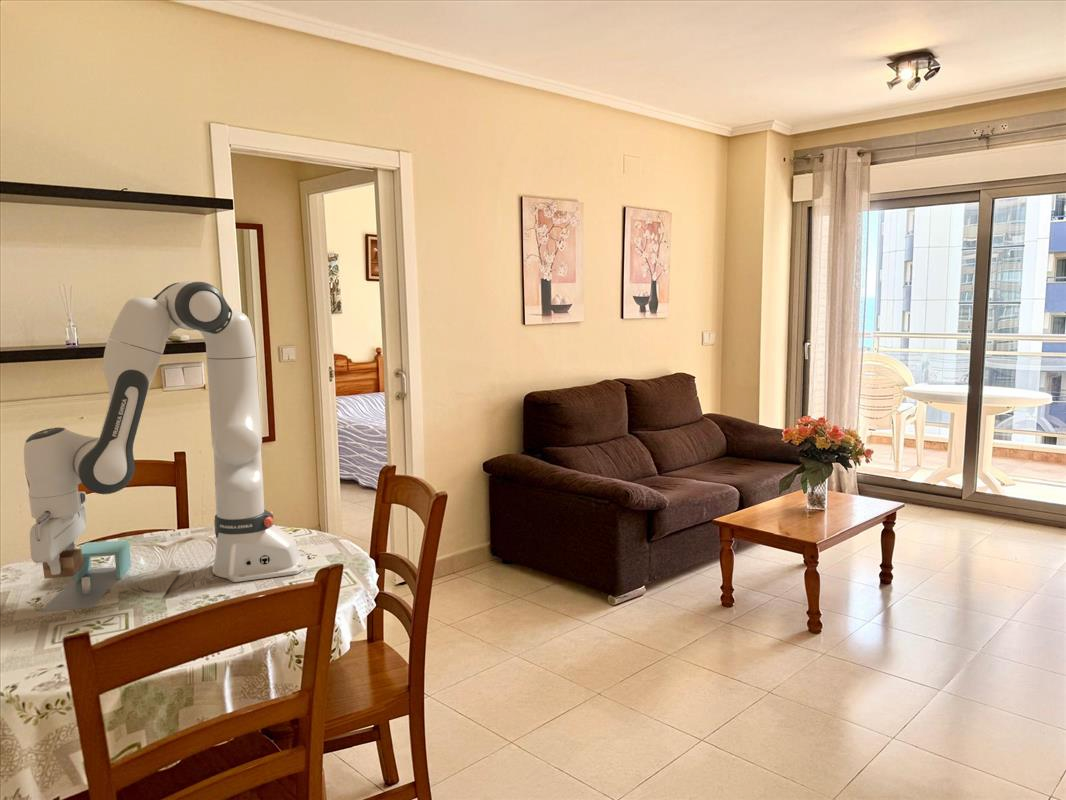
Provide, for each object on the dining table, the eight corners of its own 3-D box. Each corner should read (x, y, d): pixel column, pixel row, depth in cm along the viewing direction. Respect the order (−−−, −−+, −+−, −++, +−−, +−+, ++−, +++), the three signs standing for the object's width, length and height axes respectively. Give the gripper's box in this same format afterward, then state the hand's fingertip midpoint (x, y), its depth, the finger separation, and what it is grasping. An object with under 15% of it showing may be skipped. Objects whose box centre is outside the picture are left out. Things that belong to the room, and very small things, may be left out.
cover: (131, 565, 183) (129, 540, 182) (120, 578, 175) (118, 551, 174) (87, 568, 181) (85, 542, 180) (75, 581, 173) (72, 554, 172)
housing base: (128, 570, 184) (127, 552, 183) (93, 612, 160) (91, 592, 160) (83, 573, 182) (82, 555, 181) (41, 615, 158) (39, 595, 158)
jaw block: (83, 565, 164) (81, 548, 164) (73, 575, 159) (71, 557, 158) (55, 568, 163) (52, 551, 162) (44, 578, 158) (42, 560, 157)
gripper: (52, 519, 149) (61, 584, 151) (88, 490, 169) (96, 549, 171) (16, 522, 148) (26, 588, 150) (57, 493, 168) (65, 551, 170)
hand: (63, 567), depth 161 cm, fingers closed on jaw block, 6 cm apart
